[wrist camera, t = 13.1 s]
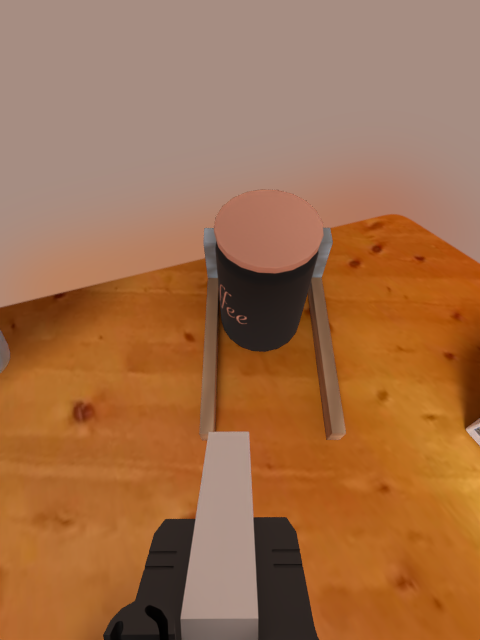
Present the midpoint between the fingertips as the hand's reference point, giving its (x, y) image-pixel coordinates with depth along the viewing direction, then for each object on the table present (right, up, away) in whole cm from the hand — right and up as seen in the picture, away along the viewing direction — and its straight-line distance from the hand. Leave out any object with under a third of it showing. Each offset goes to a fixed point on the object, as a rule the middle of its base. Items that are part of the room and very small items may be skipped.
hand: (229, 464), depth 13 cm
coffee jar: (+3, +5, +36) cm, 37 cm away
